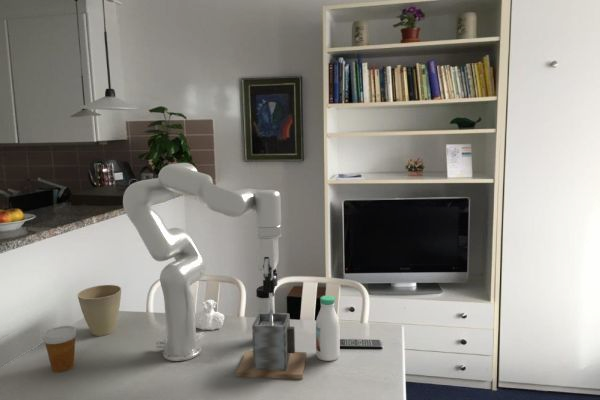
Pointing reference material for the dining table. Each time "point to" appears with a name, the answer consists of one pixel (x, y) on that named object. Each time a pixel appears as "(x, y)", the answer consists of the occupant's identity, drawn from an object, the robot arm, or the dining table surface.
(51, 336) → the disposable coffee cup
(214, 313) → the bust
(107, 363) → the dining table surface
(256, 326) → the stand
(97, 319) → the plant pot
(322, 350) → the milk bottle
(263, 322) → the knob on square base
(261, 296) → the travel mug
